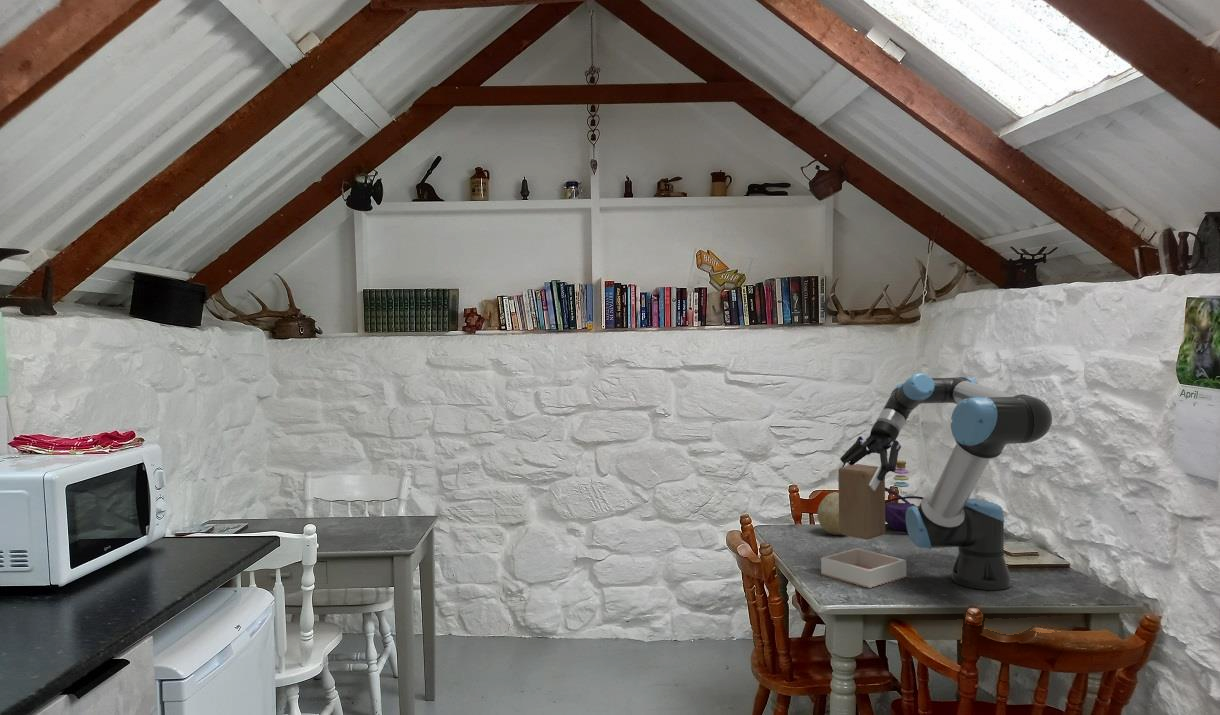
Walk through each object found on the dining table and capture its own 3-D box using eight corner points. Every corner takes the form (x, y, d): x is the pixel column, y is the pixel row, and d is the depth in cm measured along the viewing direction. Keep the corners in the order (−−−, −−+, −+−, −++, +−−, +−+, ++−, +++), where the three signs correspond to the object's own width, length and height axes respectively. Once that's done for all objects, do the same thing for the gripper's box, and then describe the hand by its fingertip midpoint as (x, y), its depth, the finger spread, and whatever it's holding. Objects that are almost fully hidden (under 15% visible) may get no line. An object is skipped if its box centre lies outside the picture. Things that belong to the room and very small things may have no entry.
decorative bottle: (926, 539, 265) (926, 467, 265) (864, 532, 276) (863, 463, 276) (936, 525, 285) (936, 458, 284) (878, 519, 295) (877, 455, 295)
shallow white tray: (906, 577, 224) (906, 560, 224) (870, 588, 214) (870, 571, 214) (857, 564, 238) (857, 548, 238) (821, 574, 228) (821, 557, 228)
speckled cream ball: (810, 533, 276) (809, 492, 276) (832, 528, 284) (831, 487, 283) (840, 540, 266) (839, 497, 266) (862, 534, 274) (861, 492, 273)
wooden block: (867, 540, 220) (867, 471, 219) (837, 534, 228) (836, 467, 227) (886, 534, 226) (886, 467, 226) (856, 528, 234) (856, 463, 233)
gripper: (927, 439, 226) (895, 499, 217) (861, 432, 244) (829, 487, 236) (916, 422, 223) (883, 482, 214) (850, 416, 241) (817, 471, 233)
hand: (855, 485), depth 225 cm, fingers closed on wooden block, 10 cm apart
